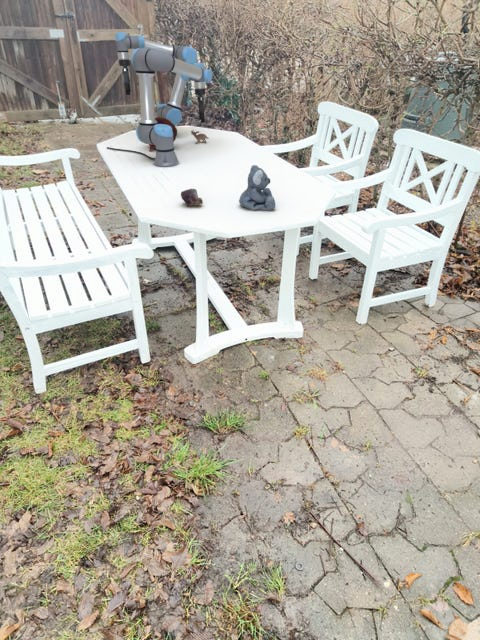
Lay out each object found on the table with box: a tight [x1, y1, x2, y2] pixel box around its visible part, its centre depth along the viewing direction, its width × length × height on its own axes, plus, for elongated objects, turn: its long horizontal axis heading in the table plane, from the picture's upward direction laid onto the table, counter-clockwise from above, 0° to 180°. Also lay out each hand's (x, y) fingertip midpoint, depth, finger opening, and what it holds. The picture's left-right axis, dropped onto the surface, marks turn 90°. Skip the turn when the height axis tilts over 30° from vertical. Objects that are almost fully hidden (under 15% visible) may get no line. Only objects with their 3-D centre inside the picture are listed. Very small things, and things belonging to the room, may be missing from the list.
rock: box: [180, 188, 204, 207], centre depth 229 cm, size 12×9×10 cm
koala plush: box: [238, 164, 276, 211], centre depth 224 cm, size 17×18×20 cm
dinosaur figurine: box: [190, 130, 209, 145], centre depth 339 cm, size 14×6×9 cm, turn 99°
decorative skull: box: [148, 116, 178, 152], centre depth 324 cm, size 21×24×25 cm
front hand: (202, 120), depth 326 cm, fingers open, 13 cm apart
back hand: (128, 93), depth 321 cm, fingers open, 13 cm apart
